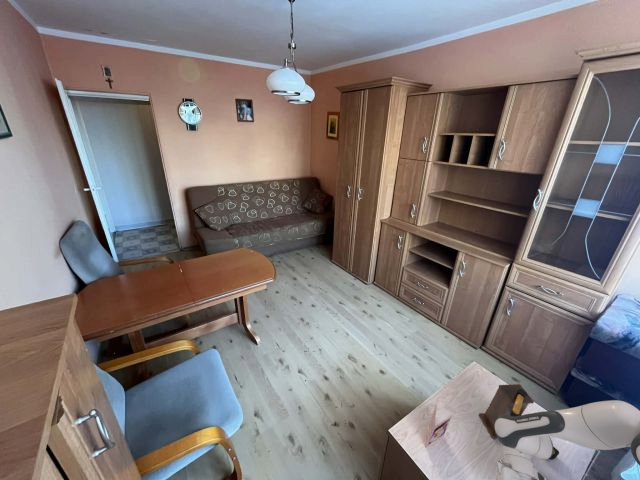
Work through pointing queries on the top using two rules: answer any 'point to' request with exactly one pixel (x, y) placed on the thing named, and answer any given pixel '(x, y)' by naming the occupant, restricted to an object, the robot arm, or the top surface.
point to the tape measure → (554, 453)
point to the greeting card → (436, 429)
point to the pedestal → (502, 406)
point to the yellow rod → (518, 402)
